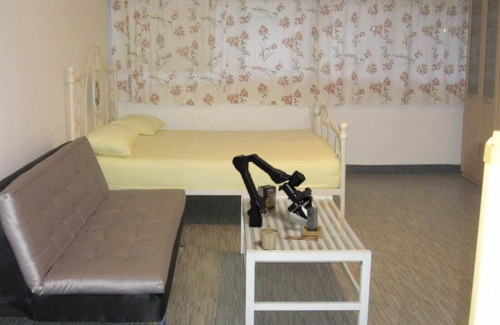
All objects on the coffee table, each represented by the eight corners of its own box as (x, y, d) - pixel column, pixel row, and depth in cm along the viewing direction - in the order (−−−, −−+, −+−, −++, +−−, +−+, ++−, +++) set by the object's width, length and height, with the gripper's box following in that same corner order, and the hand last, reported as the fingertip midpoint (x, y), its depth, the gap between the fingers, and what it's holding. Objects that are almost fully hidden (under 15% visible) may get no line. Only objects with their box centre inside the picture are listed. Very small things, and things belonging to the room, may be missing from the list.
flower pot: (281, 246, 285) (281, 228, 284) (275, 252, 276) (275, 234, 275) (262, 244, 288) (262, 226, 287) (256, 250, 279) (256, 232, 278)
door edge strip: (285, 239, 295) (285, 237, 295) (285, 238, 297) (285, 236, 297) (317, 240, 293) (317, 238, 293) (317, 239, 295) (317, 237, 295)
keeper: (301, 238, 297) (301, 231, 297) (302, 232, 307) (302, 225, 306) (321, 238, 296) (322, 232, 296) (321, 232, 306) (321, 226, 305)
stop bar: (306, 235, 301) (307, 208, 298) (310, 233, 304) (310, 206, 302) (313, 236, 299) (314, 209, 296) (317, 234, 302) (317, 207, 300)
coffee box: (264, 216, 336) (264, 188, 333) (256, 214, 341) (256, 186, 338) (276, 213, 342) (276, 186, 339) (269, 211, 347) (269, 184, 344)
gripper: (293, 186, 292) (313, 211, 288) (310, 179, 308) (329, 203, 304) (279, 200, 297) (298, 224, 294) (296, 192, 313) (314, 216, 310)
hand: (310, 216), depth 300 cm, fingers open, 9 cm apart
